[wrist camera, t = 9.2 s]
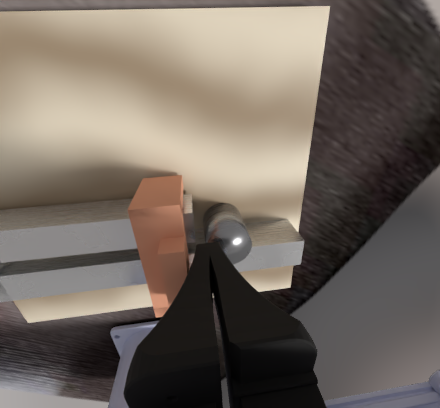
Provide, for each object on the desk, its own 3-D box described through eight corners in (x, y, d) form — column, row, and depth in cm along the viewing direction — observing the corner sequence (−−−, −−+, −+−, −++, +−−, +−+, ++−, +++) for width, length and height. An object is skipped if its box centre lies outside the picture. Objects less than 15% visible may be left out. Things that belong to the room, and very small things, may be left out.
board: (285, 279, 22) (290, 287, 21) (35, 312, 20) (28, 322, 19) (319, 12, 12) (330, 6, 11) (-151, 21, 10) (-183, 14, 9)
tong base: (285, 240, 18) (303, 268, 15) (2, 272, 16) (-38, 312, 13) (290, 196, 16) (311, 219, 13) (-28, 227, 14) (-82, 261, 11)
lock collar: (193, 266, 18) (195, 330, 13) (162, 270, 17) (153, 336, 13) (182, 174, 14) (179, 217, 10) (142, 178, 14) (120, 223, 9)
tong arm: (194, 221, 16) (195, 244, 13) (-26, 242, 14) (-66, 272, 12) (191, 193, 15) (192, 212, 12) (-45, 213, 13) (-93, 239, 11)
